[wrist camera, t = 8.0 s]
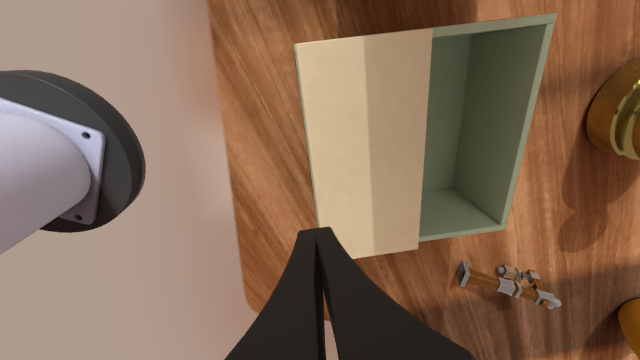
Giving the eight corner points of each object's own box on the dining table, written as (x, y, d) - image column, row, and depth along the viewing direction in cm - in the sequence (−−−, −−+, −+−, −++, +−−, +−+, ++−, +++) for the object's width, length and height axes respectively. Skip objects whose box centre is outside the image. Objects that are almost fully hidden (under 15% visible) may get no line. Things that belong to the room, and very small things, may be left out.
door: (323, 260, 16) (324, 263, 16) (295, 44, 11) (295, 44, 11) (416, 245, 16) (418, 249, 16) (429, 28, 11) (433, 27, 11)
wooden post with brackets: (538, 282, 26) (560, 319, 22) (453, 258, 28) (459, 288, 24) (547, 268, 26) (570, 304, 22) (459, 245, 28) (466, 274, 24)
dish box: (315, 207, 22) (322, 256, 16) (294, 48, 16) (293, 43, 11) (454, 188, 22) (505, 229, 17) (474, 27, 17) (557, 12, 12)
